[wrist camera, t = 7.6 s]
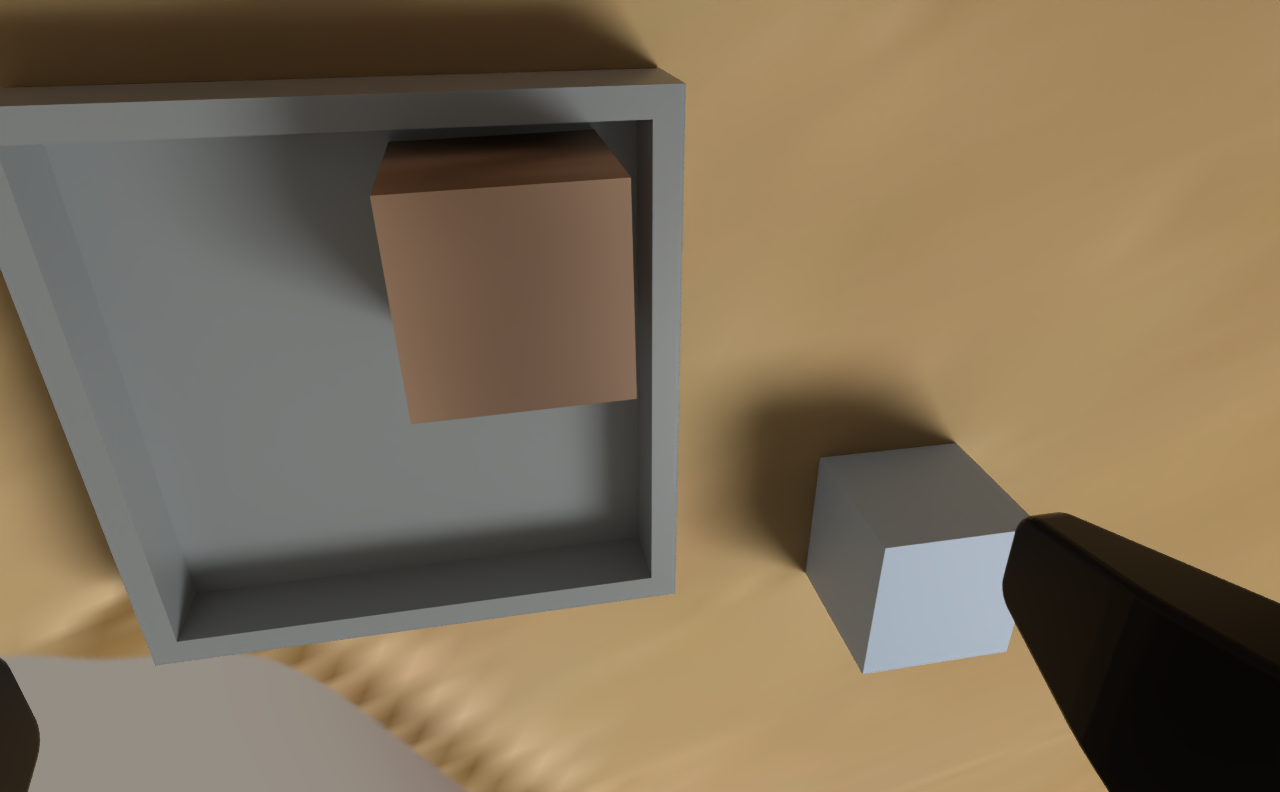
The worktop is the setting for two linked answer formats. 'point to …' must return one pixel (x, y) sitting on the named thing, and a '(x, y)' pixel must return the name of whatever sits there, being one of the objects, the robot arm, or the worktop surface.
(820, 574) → the slate block
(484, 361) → the walnut block
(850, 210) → the worktop surface
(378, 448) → the tray
